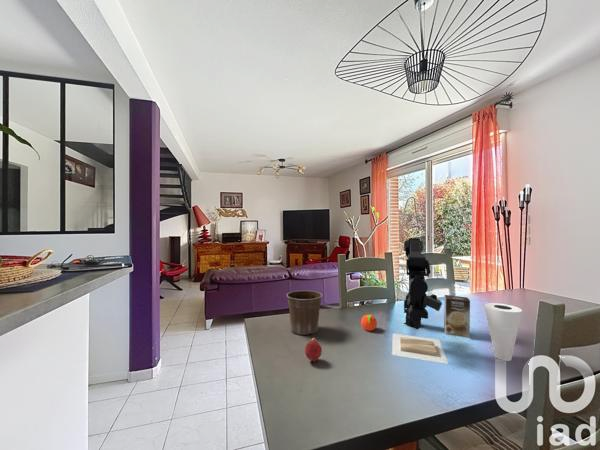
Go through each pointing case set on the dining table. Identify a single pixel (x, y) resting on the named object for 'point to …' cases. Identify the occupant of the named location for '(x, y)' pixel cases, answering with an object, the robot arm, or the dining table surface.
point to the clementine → (368, 322)
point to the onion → (313, 350)
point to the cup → (503, 328)
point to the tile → (418, 346)
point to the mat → (397, 351)
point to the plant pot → (304, 311)
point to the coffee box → (457, 316)
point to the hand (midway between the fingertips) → (416, 328)
